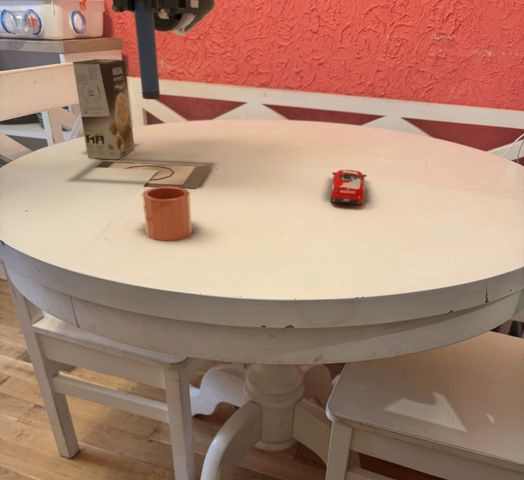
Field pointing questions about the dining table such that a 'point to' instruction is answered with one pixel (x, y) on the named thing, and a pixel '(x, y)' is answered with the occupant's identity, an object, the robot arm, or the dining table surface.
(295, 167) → the dining table surface
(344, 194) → the race car
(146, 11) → the marker
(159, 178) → the sketch board
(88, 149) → the coffee box
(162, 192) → the pen pot
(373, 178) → the dining table surface
